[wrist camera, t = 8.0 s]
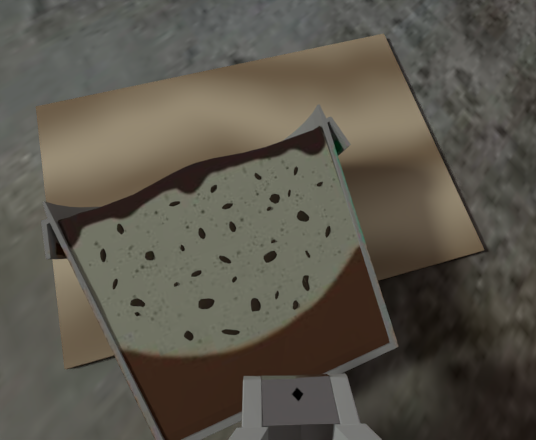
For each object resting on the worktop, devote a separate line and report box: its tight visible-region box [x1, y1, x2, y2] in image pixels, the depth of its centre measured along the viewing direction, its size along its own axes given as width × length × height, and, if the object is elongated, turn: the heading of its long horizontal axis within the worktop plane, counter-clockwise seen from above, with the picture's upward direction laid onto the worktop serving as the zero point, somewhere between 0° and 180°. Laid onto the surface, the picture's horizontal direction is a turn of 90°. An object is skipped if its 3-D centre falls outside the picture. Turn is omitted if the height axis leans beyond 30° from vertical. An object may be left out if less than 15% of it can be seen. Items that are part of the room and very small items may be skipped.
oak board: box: [36, 34, 484, 369], centre depth 22 cm, size 15×22×1 cm
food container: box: [41, 104, 399, 440], centre depth 18 cm, size 12×6×10 cm
